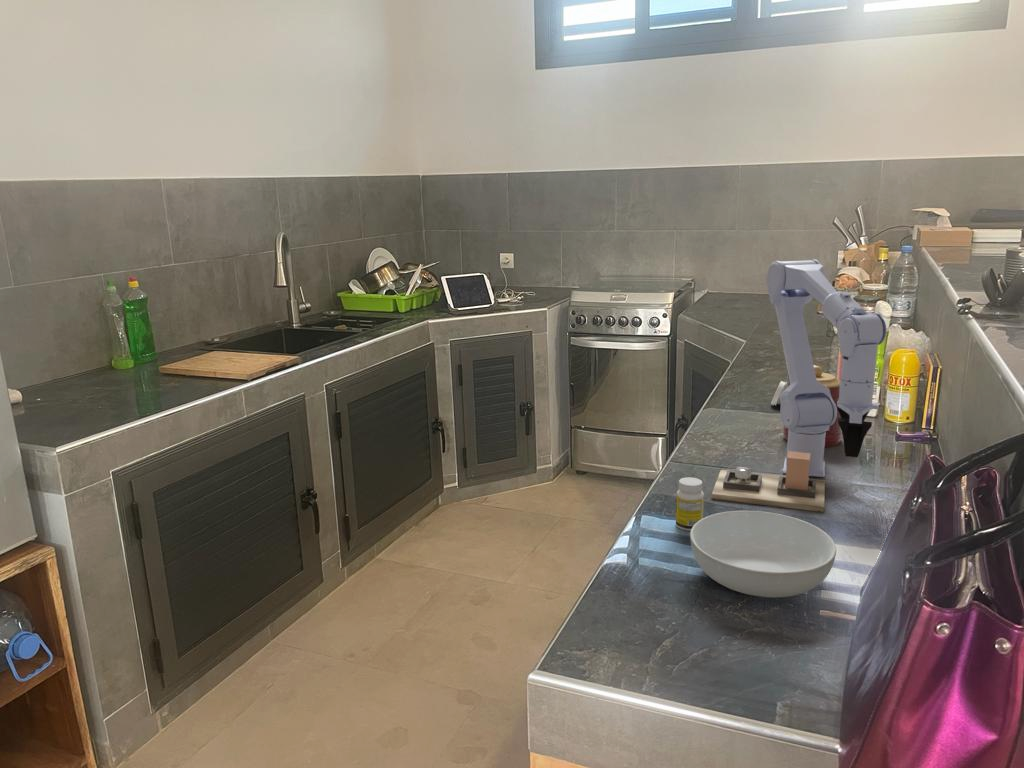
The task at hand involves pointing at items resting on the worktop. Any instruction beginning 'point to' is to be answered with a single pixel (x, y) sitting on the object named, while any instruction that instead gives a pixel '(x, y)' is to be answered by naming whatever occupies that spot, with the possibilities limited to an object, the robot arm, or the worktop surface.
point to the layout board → (769, 491)
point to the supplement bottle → (689, 503)
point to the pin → (743, 475)
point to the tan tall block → (797, 470)
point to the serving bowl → (762, 552)
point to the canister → (834, 386)
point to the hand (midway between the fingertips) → (850, 450)
